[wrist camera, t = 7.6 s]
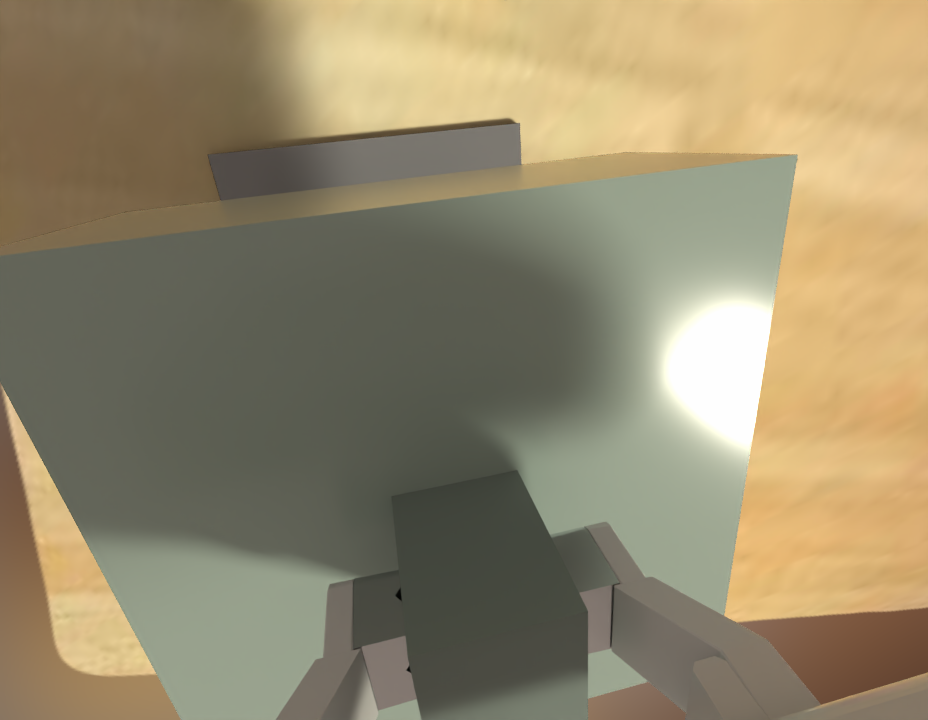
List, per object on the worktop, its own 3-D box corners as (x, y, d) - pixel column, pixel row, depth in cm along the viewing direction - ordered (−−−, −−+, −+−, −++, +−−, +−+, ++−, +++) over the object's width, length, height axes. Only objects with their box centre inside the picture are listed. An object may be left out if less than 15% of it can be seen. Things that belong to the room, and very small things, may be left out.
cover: (125, 212, 14) (-410, 358, 4) (625, 152, 17) (1041, 157, 7) (265, 596, 21) (179, 1019, 11) (614, 517, 23) (817, 806, 13)
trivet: (210, 154, 26) (207, 154, 25) (517, 123, 28) (519, 123, 28) (287, 424, 33) (286, 428, 32) (527, 381, 35) (529, 384, 35)
